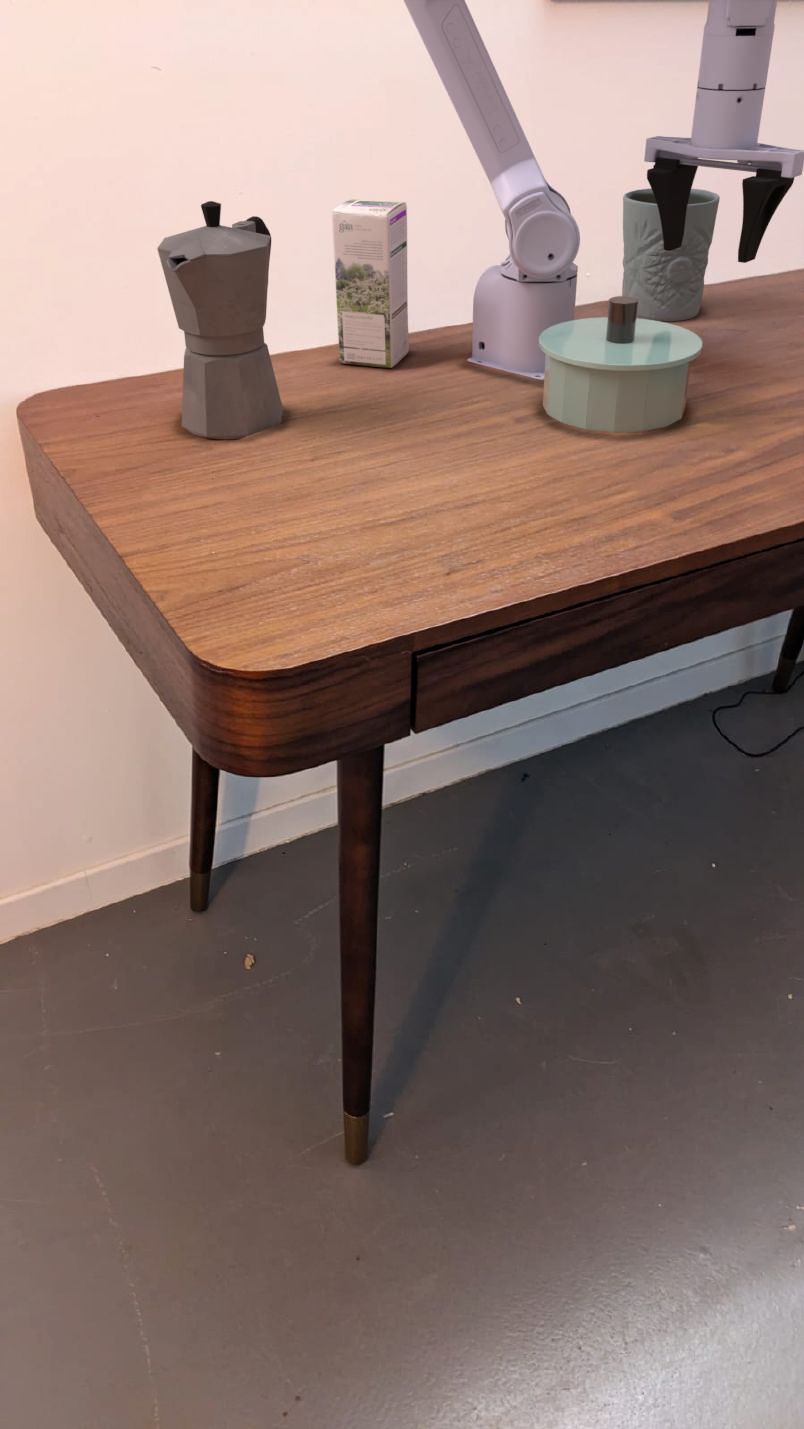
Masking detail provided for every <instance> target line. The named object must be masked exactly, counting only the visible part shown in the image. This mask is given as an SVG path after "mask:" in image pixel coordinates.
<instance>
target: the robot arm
mask: <svg viewBox="0 0 804 1429" xmlns="http://www.w3.org/2000/svg"><path fill="white" fill-rule="evenodd" d="M403 2H404V4H405V6H406V8H407V10H408V13H409V15H410V18H411V19H412V21H413V23H414V25H415V28H416V29H417V32H418V34H419V36H420V38H421V40H422V42H423V45H424V47H425V48H426V51H427V53H428V55H429V57H430V59H431V61H432V63H433V66H434V68H435V70H436V72H437V74H438V76H439V78H440V80H441V82H442V85H443V87H444V88H445V91H446V93H447V95H448V97H449V100H450V101H451V104H452V105H453V108H454V110H455V112H456V115H457V116H458V118H459V120H460V122H461V125H462V127H463V129H464V131H465V133H466V135H467V137H468V140H469V142H470V143H471V145H472V148H473V150H474V152H475V154H476V156H477V158H478V161H479V163H480V164H481V167H482V169H483V171H484V174H485V175H486V177H487V179H488V181H489V184H490V186H491V189H492V191H493V194H494V196H495V199H496V201H497V203H498V207H499V208H500V210H501V213H502V215H503V217H504V230H505V234H506V236H507V240H508V249H509V254H508V255H507V257H506V258H505V259H504V261H502V262H501V263H500V265H499V264H497V265H496V264H495V265H492V266H490V267H488V268H487V269H485V270H484V272H482V273H481V275H480V277H479V279H478V280H477V283H476V285H475V289H474V293H473V300H472V335H471V336H472V337H471V338H472V340H471V342H472V344H471V348H472V349H471V357H470V358H467V359H466V361H467V362H470V363H474V364H478V365H482V366H484V367H485V366H486V367H488V368H493V369H497V370H502V371H504V372H505V371H506V372H509V373H512V374H517V375H520V376H525V377H528V378H532V379H537V380H543V381H544V376H545V359H546V354H545V353H544V352H543V351H542V350H541V349H540V347H539V336H540V335H541V333H542V332H543V331H544V330H546V329H547V328H549V327H552V326H554V325H557V324H560V323H563V322H567V321H572V320H575V314H576V301H577V300H576V299H577V285H578V272H579V270H578V269H579V268H578V265H577V264H576V263H575V262H574V261H575V260H576V257H577V255H578V253H579V250H580V244H581V233H580V229H579V225H578V222H577V221H576V220H575V218H574V216H573V215H572V212H571V208H570V205H569V203H568V202H567V200H566V198H565V197H564V196H563V195H562V194H561V193H560V192H558V191H557V190H556V189H554V188H553V187H552V186H551V185H550V184H549V182H548V181H547V180H546V178H545V175H544V174H543V171H542V169H541V167H540V165H539V162H538V160H537V159H536V156H535V154H534V152H533V150H532V147H531V145H530V142H529V141H528V139H527V136H526V134H525V132H524V130H523V127H522V125H521V123H520V120H519V119H518V116H517V114H516V112H515V109H514V107H513V105H512V102H511V100H510V99H509V96H508V93H507V92H506V89H505V87H504V84H503V83H502V80H501V78H500V76H499V74H498V70H497V69H496V67H495V65H494V63H493V60H492V58H491V56H490V54H489V52H488V49H487V47H486V44H485V42H484V41H483V38H482V36H481V34H480V31H479V29H478V27H477V25H476V23H475V20H474V18H473V16H472V13H471V11H470V9H469V7H468V4H467V2H466V0H403ZM777 5H778V0H708V5H707V6H708V7H707V15H706V21H705V24H704V27H703V33H702V34H703V35H702V43H701V51H700V61H699V68H698V76H697V85H696V86H697V87H696V93H695V100H694V101H695V103H694V109H693V118H692V127H691V134H690V135H691V136H690V137H679V136H663V135H662V136H661V135H656V136H652V137H647V138H646V139H645V149H644V159H643V160H644V162H646V163H654V164H653V166H652V168H649V169H647V170H646V180H647V182H648V184H649V187H650V188H652V191H653V194H654V196H655V199H656V203H657V206H658V210H659V215H660V220H661V226H662V233H663V243H664V250H668V251H671V250H674V249H677V248H679V247H681V245H682V241H683V236H684V229H685V220H686V211H687V205H688V200H689V196H690V192H691V189H693V184H694V181H695V177H696V175H697V171H698V168H699V167H704V168H712V169H720V170H721V169H722V170H730V171H739V172H747V173H749V172H750V173H755V175H752V176H749V177H746V178H743V179H742V183H741V185H742V188H741V189H742V201H743V203H742V224H741V231H740V237H739V242H738V250H737V263H741V264H745V263H749V262H751V261H753V260H755V259H756V257H757V253H758V251H759V248H760V246H761V243H762V240H763V238H764V235H765V233H766V230H767V229H768V226H769V224H770V222H771V220H772V219H773V216H774V214H775V213H776V211H777V209H778V207H779V206H780V204H781V202H782V201H783V200H784V198H785V196H786V195H787V194H788V192H789V191H790V189H791V188H792V186H793V184H794V181H795V178H796V177H800V176H802V175H803V169H804V149H798V148H797V149H796V148H788V147H783V146H777V145H772V144H767V143H760V142H759V141H758V140H759V133H760V126H761V121H762V113H763V107H764V99H765V93H766V86H767V82H768V74H769V67H770V60H771V56H772V55H771V54H772V48H773V40H774V35H775V26H776V24H775V20H776V19H775V18H776V12H777V7H778V6H777ZM733 161H736V162H733Z"/></svg>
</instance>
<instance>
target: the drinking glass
mask: <svg viewBox="0 0 804 1429" xmlns="http://www.w3.org/2000/svg"><path fill="white" fill-rule="evenodd" d="M720 199H721V198H720V194H718V193H716V192H713V191H710V190H706V189H700V188H691V192H690V196H689V200H688V205H687V211H686V220H685V229H684V236H683V241H682V245H681V247H679V248H677V249H674V250H671V251H668V250H664V243H663V233H662V226H661V220H660V215H659V210H658V206H657V203H656V199H655V196H654V194H653V191H652V188H651V187H650V188H642V189H635V190H632V191H631V190H630V191H628V192H625V193H624V194H623V197H622V240H623V257H622V267H623V272H622V288H621V296H628V297H633V298H636V299H638V309H637V318H639V319H647V320H654V321H660V322H679V321H685V320H689V319H690V320H691V319H693V318H695V317H697V316H698V314H699V312H700V311H701V305H702V301H703V294H704V290H705V289H704V288H705V275H706V271H707V270H706V269H707V267H708V264H709V254H710V248H711V246H712V244H713V237H714V232H715V225H716V220H717V215H718V214H717V213H718V209H719V204H720Z"/></svg>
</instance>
